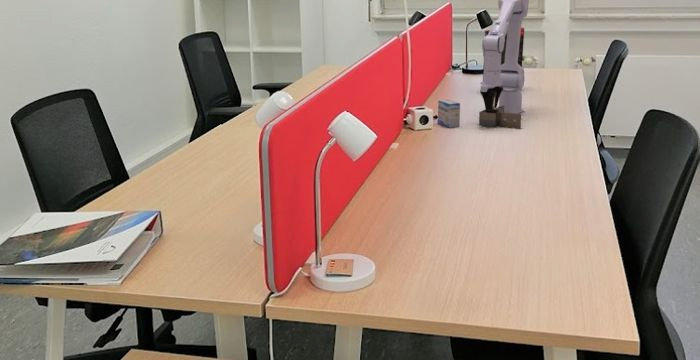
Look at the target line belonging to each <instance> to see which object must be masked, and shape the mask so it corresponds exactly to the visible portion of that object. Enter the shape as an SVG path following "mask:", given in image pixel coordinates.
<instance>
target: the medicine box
mask: <svg viewBox="0 0 700 360" xmlns="http://www.w3.org/2000/svg"><path fill="white" fill-rule="evenodd" d="M437 105H438V106H437V124H438V125H440V126H443V127H446V128H448V129H451V128H452V129H453V128H459V127H460V123H461V121H460V120H461V119H460V118H461V115H460V113H461V104H460V102H458V101H454V100H451V99H439V100H438V102H437Z"/></svg>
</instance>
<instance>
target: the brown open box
mask: <svg viewBox="0 0 700 360" xmlns="http://www.w3.org/2000/svg"><path fill="white" fill-rule="evenodd" d="M478 116H479V117H478V119H483V120H492V121H496V120H498V127H501V128H512V129H518V130H520V129H521V128H522V126H521V125H522V113H519V114H515V113H505V112H503V110H494V113H488V112H486V108H485V109H483V110H482V111H479V114H478Z"/></svg>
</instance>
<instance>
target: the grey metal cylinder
mask: <svg viewBox="0 0 700 360" xmlns="http://www.w3.org/2000/svg"><path fill="white" fill-rule="evenodd" d="M495 109H496V108H495V97H494V102H493V108H492V110H486V112H488V113H494V110H495Z"/></svg>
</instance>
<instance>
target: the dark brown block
mask: <svg viewBox="0 0 700 360" xmlns="http://www.w3.org/2000/svg"><path fill="white" fill-rule="evenodd" d="M495 110H503V112H504V105H502V106H500V107H499V106H497V107H496V108H495ZM478 119H479V118H478ZM478 126H479V127H486V128H493V129H494V128H495V129H496V128H497V127H499V126H498V120H496V121H492V120H483V119H479V120H478Z"/></svg>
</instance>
